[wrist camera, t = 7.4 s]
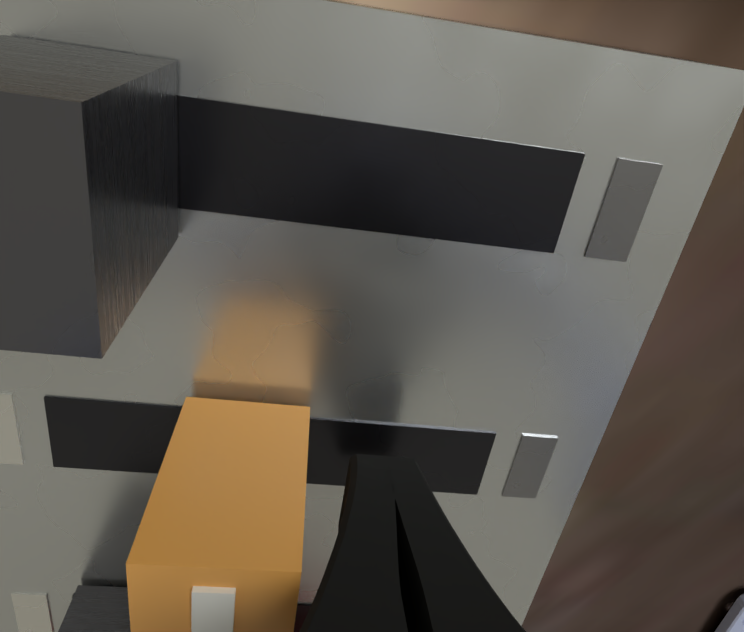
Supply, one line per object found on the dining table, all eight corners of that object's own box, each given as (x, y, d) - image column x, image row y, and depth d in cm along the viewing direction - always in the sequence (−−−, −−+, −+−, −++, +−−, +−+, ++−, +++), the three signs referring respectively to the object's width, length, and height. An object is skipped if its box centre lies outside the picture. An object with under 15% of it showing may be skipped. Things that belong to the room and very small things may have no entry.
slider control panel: (480, 622, 19) (535, 855, 14) (24, 605, 17) (-106, 863, 12) (690, 60, 11) (1002, 118, 6) (-114, -75, 9) (-661, -159, 4)
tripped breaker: (297, 508, 13) (285, 692, 10) (186, 501, 13) (132, 689, 9) (309, 406, 12) (301, 578, 8) (185, 396, 11) (123, 570, 8)
